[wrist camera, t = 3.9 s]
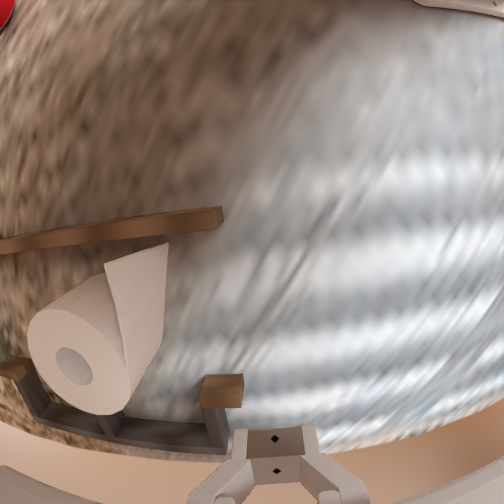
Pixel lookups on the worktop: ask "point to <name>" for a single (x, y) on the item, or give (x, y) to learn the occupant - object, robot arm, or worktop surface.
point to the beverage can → (6, 11)
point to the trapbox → (117, 425)
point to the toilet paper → (103, 332)
